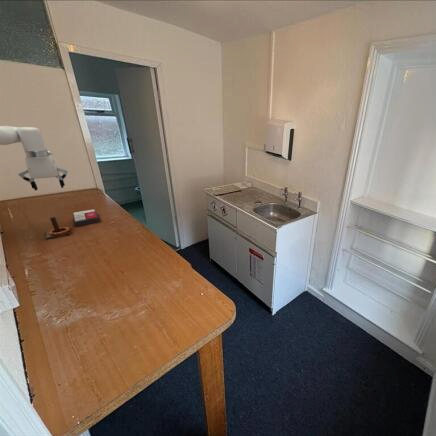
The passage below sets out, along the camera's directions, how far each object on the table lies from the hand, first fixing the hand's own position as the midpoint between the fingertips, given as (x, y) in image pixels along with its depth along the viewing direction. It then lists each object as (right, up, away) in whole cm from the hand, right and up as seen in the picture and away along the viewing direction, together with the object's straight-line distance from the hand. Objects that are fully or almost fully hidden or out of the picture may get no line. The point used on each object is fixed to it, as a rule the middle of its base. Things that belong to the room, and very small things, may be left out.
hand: (49, 188), depth 119 cm
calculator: (-1, -17, +23) cm, 28 cm away
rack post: (-1, -24, +6) cm, 25 cm away
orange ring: (-1, -22, +6) cm, 23 cm away
